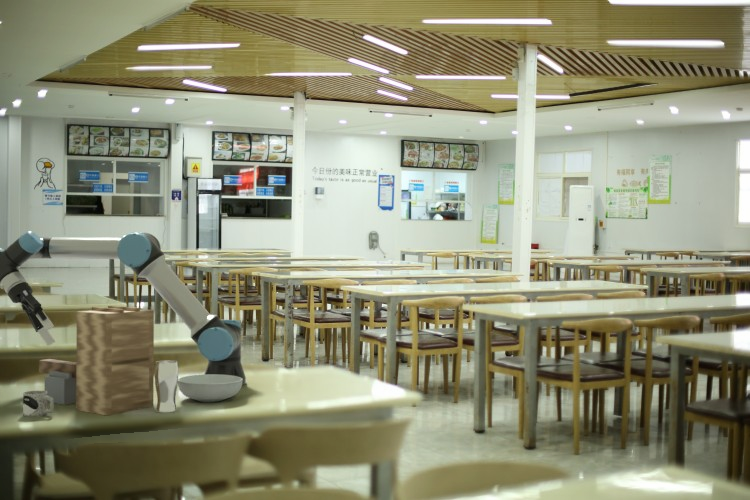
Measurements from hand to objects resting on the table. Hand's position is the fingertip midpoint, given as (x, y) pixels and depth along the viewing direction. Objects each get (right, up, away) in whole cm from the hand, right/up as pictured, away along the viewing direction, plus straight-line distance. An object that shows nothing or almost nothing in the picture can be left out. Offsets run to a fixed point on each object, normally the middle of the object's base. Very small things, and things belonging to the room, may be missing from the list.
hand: (50, 336), depth 301 cm
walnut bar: (+10, -11, -14) cm, 20 cm away
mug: (+11, -20, -38) cm, 44 cm away
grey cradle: (+11, -19, -14) cm, 27 cm away
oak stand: (+30, -20, -27) cm, 44 cm away
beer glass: (+46, -20, -31) cm, 59 cm away
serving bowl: (+56, -20, -11) cm, 60 cm away
